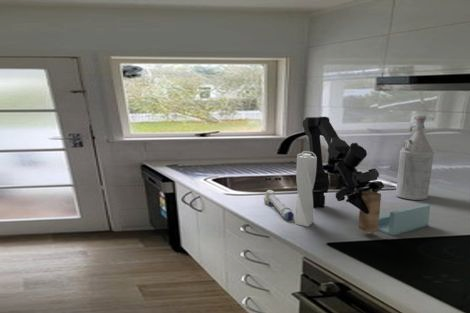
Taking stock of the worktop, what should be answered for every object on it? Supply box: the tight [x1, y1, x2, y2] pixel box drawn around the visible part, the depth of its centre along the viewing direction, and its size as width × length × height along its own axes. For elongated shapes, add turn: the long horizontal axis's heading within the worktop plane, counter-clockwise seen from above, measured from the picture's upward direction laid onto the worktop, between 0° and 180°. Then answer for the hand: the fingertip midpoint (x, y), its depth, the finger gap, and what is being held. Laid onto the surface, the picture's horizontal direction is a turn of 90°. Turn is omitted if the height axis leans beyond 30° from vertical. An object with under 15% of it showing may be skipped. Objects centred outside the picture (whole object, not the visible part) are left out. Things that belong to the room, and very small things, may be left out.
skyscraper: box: [294, 150, 317, 227], centre depth 121 cm, size 8×8×28 cm
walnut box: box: [357, 191, 382, 234], centre depth 112 cm, size 4×4×13 cm
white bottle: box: [395, 113, 435, 201], centre depth 156 cm, size 13×17×40 cm
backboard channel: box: [378, 203, 431, 236], centre depth 120 cm, size 9×20×8 cm, turn 118°
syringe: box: [263, 189, 295, 221], centre depth 138 cm, size 5×7×25 cm
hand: (372, 212), depth 111 cm, fingers closed on walnut box, 4 cm apart
